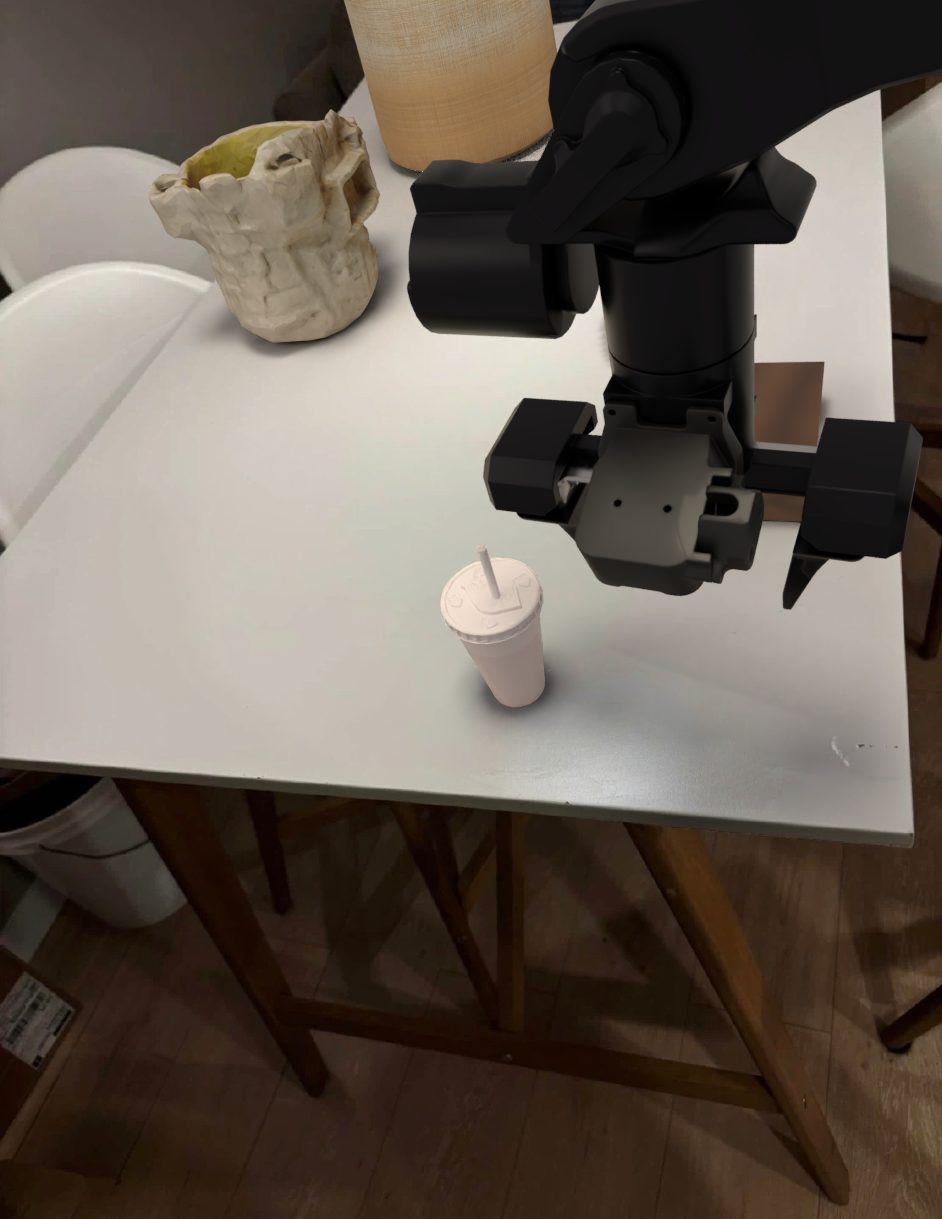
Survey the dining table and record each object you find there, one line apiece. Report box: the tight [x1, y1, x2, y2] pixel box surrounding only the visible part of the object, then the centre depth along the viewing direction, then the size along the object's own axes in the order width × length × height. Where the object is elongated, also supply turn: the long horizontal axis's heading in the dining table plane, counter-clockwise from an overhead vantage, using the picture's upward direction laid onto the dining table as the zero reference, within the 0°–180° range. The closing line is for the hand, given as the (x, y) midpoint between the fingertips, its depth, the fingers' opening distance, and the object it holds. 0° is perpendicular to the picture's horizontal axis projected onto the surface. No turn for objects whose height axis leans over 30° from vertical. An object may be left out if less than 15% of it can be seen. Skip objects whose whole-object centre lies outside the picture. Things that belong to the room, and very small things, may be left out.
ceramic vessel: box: [148, 109, 381, 344], centre depth 96 cm, size 23×24×25 cm
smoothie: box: [439, 544, 546, 708], centre depth 56 cm, size 6×6×14 cm
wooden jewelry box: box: [754, 361, 826, 523], centre depth 70 cm, size 14×14×4 cm
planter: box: [343, 0, 558, 174], centre depth 116 cm, size 25×25×22 cm
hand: (697, 589), depth 47 cm, fingers open, 9 cm apart
